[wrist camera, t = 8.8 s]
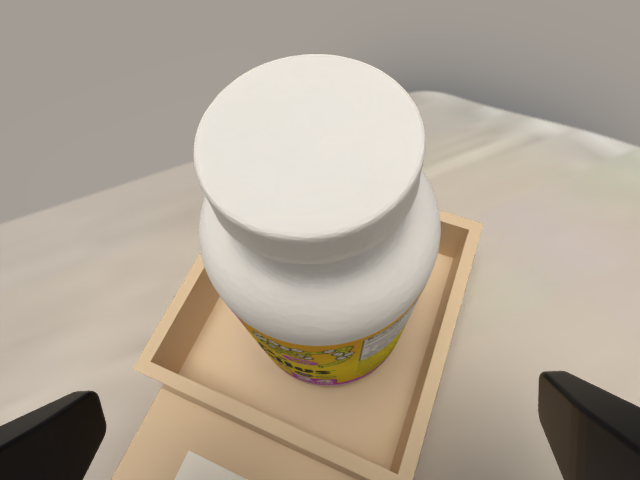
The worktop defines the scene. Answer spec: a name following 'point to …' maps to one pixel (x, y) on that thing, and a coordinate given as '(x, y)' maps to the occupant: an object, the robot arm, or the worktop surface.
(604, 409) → the robot arm
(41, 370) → the worktop surface
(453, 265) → the mailer box
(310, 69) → the supplement bottle
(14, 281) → the worktop surface
